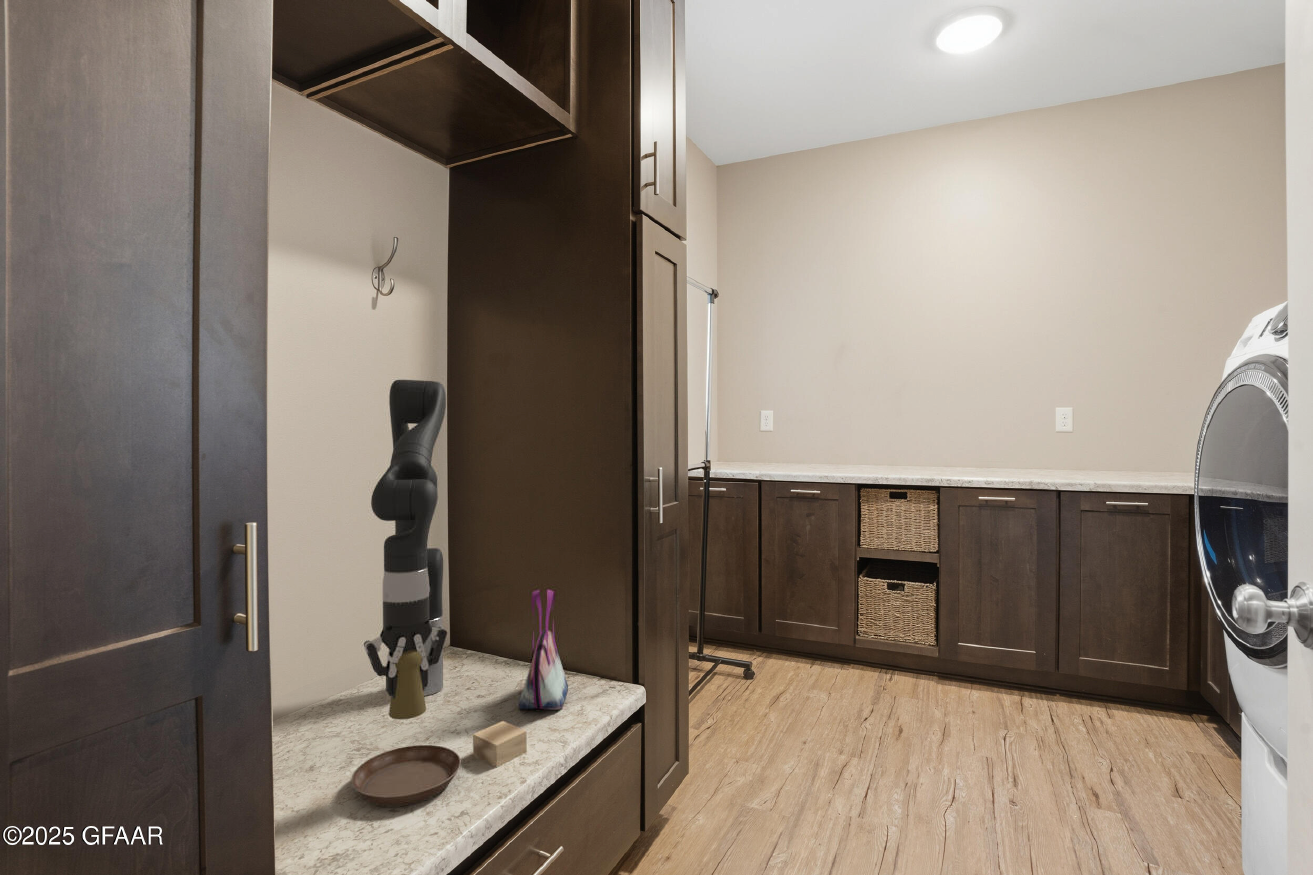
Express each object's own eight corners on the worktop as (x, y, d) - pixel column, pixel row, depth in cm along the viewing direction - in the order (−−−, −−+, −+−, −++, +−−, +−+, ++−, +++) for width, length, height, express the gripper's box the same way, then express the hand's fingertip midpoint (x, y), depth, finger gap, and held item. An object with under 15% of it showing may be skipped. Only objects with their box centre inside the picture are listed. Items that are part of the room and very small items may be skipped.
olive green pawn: (413, 720, 109) (412, 655, 109) (381, 717, 110) (380, 653, 110) (432, 705, 115) (432, 643, 115) (402, 703, 116) (401, 641, 116)
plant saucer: (421, 750, 125) (421, 734, 125) (481, 778, 115) (481, 761, 115) (330, 792, 111) (330, 774, 111) (390, 828, 100) (390, 809, 100)
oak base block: (473, 755, 122) (472, 734, 122) (502, 741, 128) (502, 721, 128) (496, 767, 118) (496, 745, 118) (526, 751, 124) (526, 730, 123)
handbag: (530, 681, 158) (529, 579, 158) (571, 681, 158) (570, 579, 158) (512, 721, 136) (511, 603, 136) (560, 720, 137) (559, 602, 136)
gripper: (439, 584, 120) (440, 677, 120) (356, 597, 111) (357, 696, 111) (454, 592, 114) (455, 690, 114) (367, 606, 105) (368, 711, 105)
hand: (407, 692), depth 113 cm, fingers closed on olive green pawn, 4 cm apart
